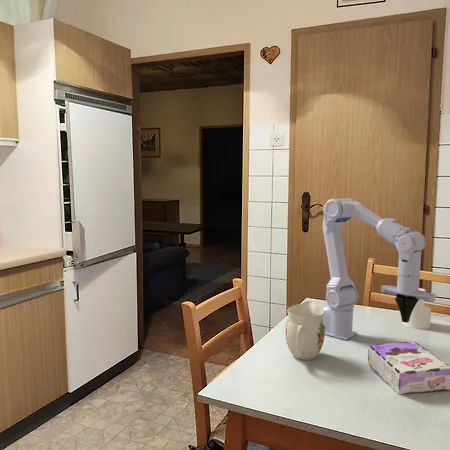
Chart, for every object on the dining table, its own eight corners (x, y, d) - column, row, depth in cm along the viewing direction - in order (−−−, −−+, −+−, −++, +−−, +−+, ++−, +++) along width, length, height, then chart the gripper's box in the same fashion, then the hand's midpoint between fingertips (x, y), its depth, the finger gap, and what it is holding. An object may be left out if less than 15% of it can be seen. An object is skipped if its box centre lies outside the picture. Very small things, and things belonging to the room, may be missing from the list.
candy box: (415, 340, 125) (453, 367, 109) (414, 360, 126) (452, 390, 110) (368, 344, 123) (400, 372, 107) (367, 364, 124) (398, 395, 108)
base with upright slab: (405, 318, 165) (407, 286, 163) (432, 323, 160) (434, 290, 158) (399, 325, 158) (401, 291, 156) (426, 331, 152) (429, 296, 151)
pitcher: (277, 365, 123) (278, 316, 122) (291, 342, 140) (292, 299, 139) (318, 372, 120) (320, 321, 118) (327, 347, 136) (329, 303, 135)
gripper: (440, 276, 126) (436, 323, 128) (388, 268, 136) (386, 312, 137) (432, 281, 121) (428, 330, 123) (379, 272, 131) (376, 318, 132)
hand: (405, 321), depth 130 cm, fingers closed
